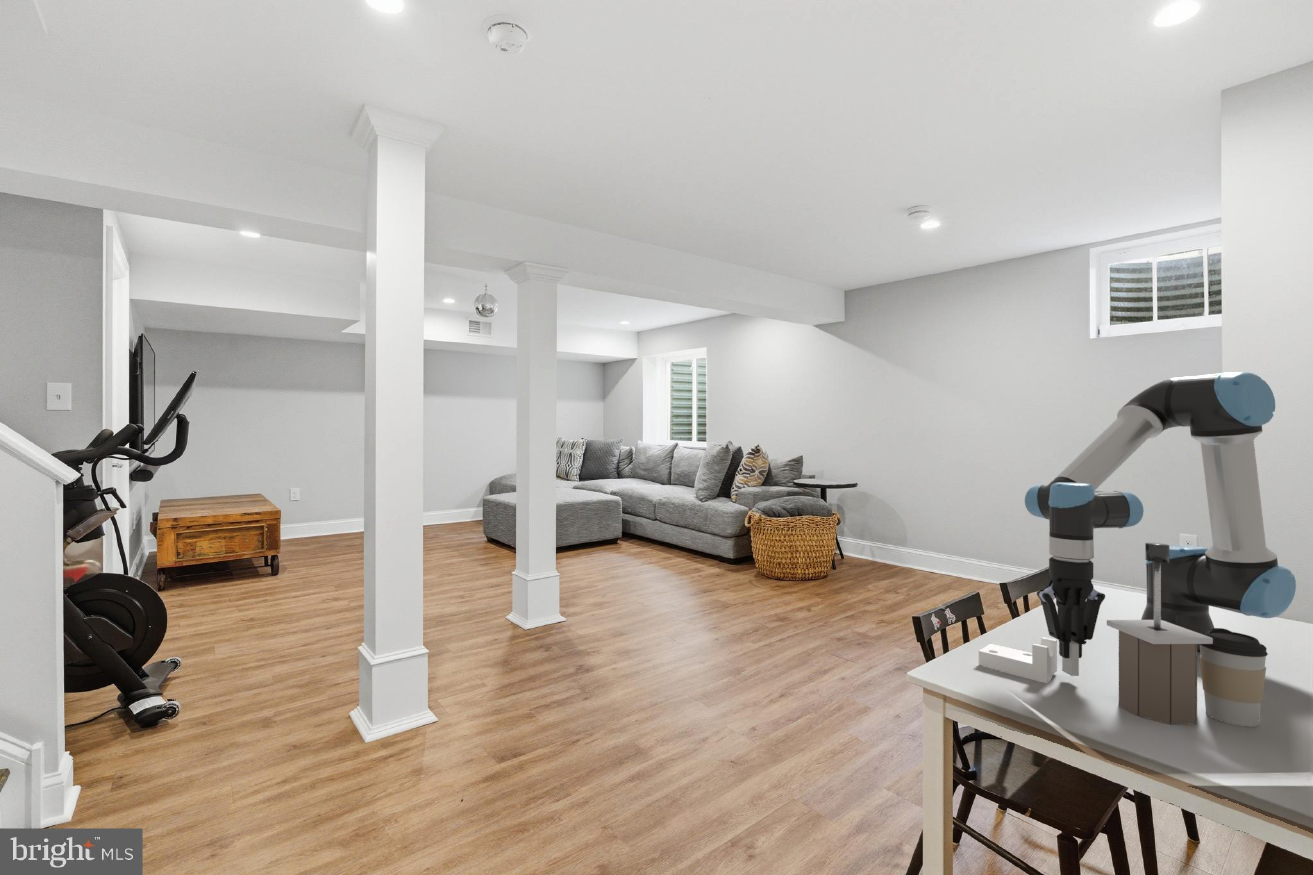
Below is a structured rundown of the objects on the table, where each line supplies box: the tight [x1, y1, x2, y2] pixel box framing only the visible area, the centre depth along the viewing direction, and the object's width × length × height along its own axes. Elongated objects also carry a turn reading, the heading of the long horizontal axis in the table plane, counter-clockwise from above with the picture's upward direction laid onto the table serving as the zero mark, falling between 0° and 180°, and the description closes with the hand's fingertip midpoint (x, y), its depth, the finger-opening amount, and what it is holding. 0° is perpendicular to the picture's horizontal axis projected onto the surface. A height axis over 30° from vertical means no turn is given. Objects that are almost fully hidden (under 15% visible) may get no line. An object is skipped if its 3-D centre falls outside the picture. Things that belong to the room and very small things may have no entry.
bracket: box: [978, 636, 1058, 684], centre depth 130 cm, size 13×7×8 cm, turn 42°
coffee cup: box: [1199, 627, 1269, 727], centre depth 108 cm, size 9×9×15 cm
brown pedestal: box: [1106, 619, 1213, 725], centre depth 111 cm, size 11×11×15 cm
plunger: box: [1144, 542, 1170, 631], centre depth 111 cm, size 7×7×19 cm
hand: (1070, 673), depth 123 cm, fingers closed
